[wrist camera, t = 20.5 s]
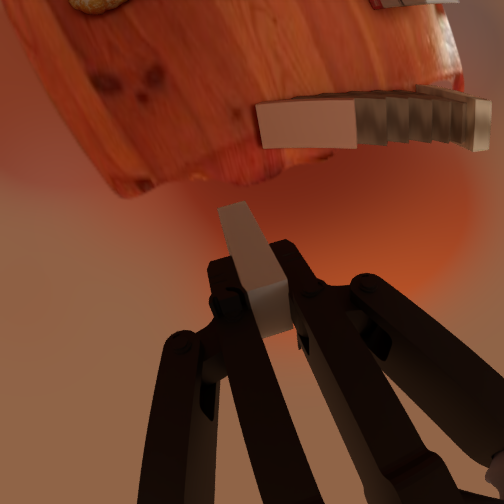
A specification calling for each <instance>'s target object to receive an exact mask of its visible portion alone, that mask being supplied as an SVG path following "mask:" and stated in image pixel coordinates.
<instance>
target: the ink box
mask: <svg viewBox="0 0 504 504" xmlns="http://www.w3.org/2000/svg"><path fill="white" fill-rule="evenodd" d="M369 1H370V3H371V5H372V7H373V9H374V10H375V9H382V8H390V7H400V6H412V5H424V4H439V3H460V2H459V0H369Z"/></svg>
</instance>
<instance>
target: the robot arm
mask: <svg viewBox="0 0 504 504" xmlns="http://www.w3.org/2000/svg"><path fill="white" fill-rule="evenodd" d="M217 210H218V213H219V217H220V221H221V225H222V228H223V232H224V236H225V240H226V243H227V247H228V251H229V254H230V256H228V257H224V258H221V259H217V260H214V261H210V263H209V266H208V268H207V272H208V278H209V283H210V288H211V293H212V294H211V296H210V298H209V306H210V308H211V311H212V313H213V315H214V318H213V320H212V321H211V322H210V324H209V325H208V326H206V327H205V328H203V329H202V330H200V331H198V332H197V333H194V332H192V331H189V330H182V331H178V332H176V333H174V334H172V335H171V336H170V337H169V338H168V339H167V340H166V342H165V344H164V347H163V352H162V356H161V361H160V366H159V370H158V375H157V380H156V385H155V390H154V395H153V400H152V406H151V411H150V417H149V423H148V428H147V434H146V441H145V447H144V453H143V460H142V468H141V475H140V483H139V490H138V499H137V504H214V494H215V469H216V447H217V428H218V410H219V393H220V380H221V379H223V378H224V377H226V376H228V378H229V383H230V387H231V391H232V395H233V398H234V403H235V407H236V410H237V414H238V418H239V422H240V426H241V429H242V433H243V437H244V440H245V444H246V447H247V451H248V454H249V458H250V462H251V465H252V468H253V472H254V475H255V479H256V482H257V485H258V488H259V492H260V495H261V498H262V501H263V504H325V503H324V502H323V499H322V497H321V494H320V492H319V489H318V487H317V484H316V482H315V479H314V477H313V474H312V471H311V469H310V466H309V464H308V461H307V459H306V456H305V453H304V451H303V448H302V445H301V443H300V440H299V438H298V435H297V432H296V430H295V427H294V424H293V422H292V419H291V416H290V414H289V411H288V408H287V406H286V403H285V400H284V398H283V395H282V392H281V389H280V387H279V384H278V382H277V379H276V376H275V373H274V370H273V367H272V365H271V362H270V359H269V356H268V354H267V351H266V348H265V345H264V343H263V340H262V339H263V338H266V337H269V336H272V335H275V334H279V333H282V332H284V331H288V330H291V329H293V324H294V326H295V328H296V330H297V340H298V348H299V350H300V349H301V347H302V349H303V352H304V354H305V356H306V358H307V361H308V362H309V365H310V367H311V369H312V372H313V374H314V376H315V378H316V380H317V383H318V385H319V387H320V389H321V392H322V394H323V396H324V398H325V400H326V403H327V405H328V407H329V409H330V412H331V414H332V416H333V418H334V421H335V423H336V425H337V427H338V429H339V432H340V434H341V436H342V438H343V441H344V443H345V445H346V447H347V450H348V452H349V454H350V456H351V459H352V461H353V463H354V465H355V468H356V470H357V472H358V474H359V476H360V479H361V481H362V484H363V487H364V494H365V497H366V500H367V503H368V504H504V378H503V377H502V376H501V375H500V374H499V373H497V372H496V371H495V370H494V369H493V368H492V367H491V366H490V365H488V364H487V363H486V362H485V361H484V360H483V359H482V358H480V357H479V356H478V355H477V354H476V353H475V352H473V351H472V350H471V349H470V348H469V347H468V346H466V345H465V344H464V343H463V342H462V341H460V340H459V339H458V338H457V337H456V336H454V335H453V334H452V333H451V332H450V331H448V330H447V329H446V328H445V327H443V326H442V325H441V324H440V323H439V322H437V321H436V320H435V319H434V318H432V317H431V316H430V315H429V314H427V313H426V312H425V311H424V310H422V309H421V308H420V307H418V306H417V305H416V304H414V303H413V302H412V301H411V300H409V299H408V298H407V297H406V296H404V295H403V294H402V293H400V292H399V291H398V290H396V289H395V288H394V287H392V286H391V285H390V284H388V283H387V282H386V281H384V280H383V279H382V278H380V277H379V276H377V275H375V274H370V273H364V274H359V275H357V276H355V277H354V278H353V279H352V281H351V283H350V285H344V286H331V285H327V284H326V283H325V282H324V281H323V280H320V279H318V278H316V276H315V275H314V273H313V272H312V270H311V269H310V267H309V266H308V264H307V263H306V261H305V260H304V258H303V257H302V255H301V254H300V253H299V251H298V249H297V248H296V246H295V245H294V244H293V243H292V242H290V241H288V240H287V239H284V240H281V241H277V242H274V243H270V244H268V242H267V240H266V238H265V237H264V235H263V233H262V231H261V229H260V227H259V225H258V224H257V222H256V220H255V218H254V216H253V214H252V213H251V211H250V209H249V207H248V205H247V204H246V202H245V201H242V202H238V203H235V204H231V205H228V206H224V207H220V208H217ZM382 371H383V372H384V373H385V374H386V375H387V376H389V377H390V379H391V380H393V382H395V383H396V385H398V386H399V388H401V389H402V390H403V391H404V392H405V393H406V394H407V395H408V396H409V397H410V398H411V399H412V400H413V401H414V402H415V403H416V404H417V405H418V406H419V407H420V408H421V409H422V410H423V411H424V412H425V413H426V414H427V415H428V416H429V417H430V418H431V419H432V420H433V421H434V422H435V423H436V424H437V425H438V426H439V427H440V428H441V429H442V430H443V431H444V432H445V433H446V434H447V435H448V436H449V437H450V438H451V439H452V440H453V442H454V443H456V445H457V446H459V448H461V449H462V451H463V452H465V453H466V454H467V455H468V456H469V457H470V458H472V459H473V460H474V461H476V462H477V463H479V464H481V465H483V466H485V467H487V468H489V469H488V470H487V472H486V475H485V480H486V481H487V482H488V483H491V484H492V485H493V486H494V487H496V488H497V489H498V491H499V494H500V499H497V498H492V497H488V496H483V495H479V494H475V493H472V492H468V491H464V490H461V489H458V488H457V486H456V484H455V482H454V480H453V478H452V476H451V474H450V472H449V470H448V468H447V466H446V465H445V463H444V461H443V460H442V458H441V457H440V456H439V455H438V454H436V453H434V452H432V451H430V450H428V449H427V448H426V446H425V445H424V443H423V442H422V440H421V438H420V436H419V434H418V433H417V431H416V429H415V427H414V425H413V423H412V422H411V420H410V418H409V416H408V415H407V413H406V411H405V409H404V408H403V406H402V404H401V403H400V401H399V399H398V397H397V395H396V394H395V392H394V390H393V389H392V387H391V385H390V383H389V382H388V380H387V378H386V377H385V375H384V374H383V372H382Z"/></svg>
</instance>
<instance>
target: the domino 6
mask: <svg viewBox="0 0 504 504" xmlns="http://www.w3.org/2000/svg"><path fill="white" fill-rule="evenodd" d="M393 92H401V93H408V94H415V95H422V96H428V97H434V98H439V99H444V100H449V101H451V139H450V141H453V142H457V143H460V144H462V143H464V142H465V136H466V114H467V103H465V102H461V101H456V100H452V99H448V98H443V97H438V96H433V95H428V94H423V93H417V92H411V91H405V90H393Z"/></svg>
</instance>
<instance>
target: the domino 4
mask: <svg viewBox="0 0 504 504" xmlns="http://www.w3.org/2000/svg"><path fill="white" fill-rule="evenodd" d="M347 93H357V94H379V95H393V96H404V97H408V103H409V140H415V141H421V142H427V143H431V141H432V120H433V106H432V99H430V98H423V97H416V96H408V95H400V94H390V93H378V92H363V91H351V92H347Z"/></svg>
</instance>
